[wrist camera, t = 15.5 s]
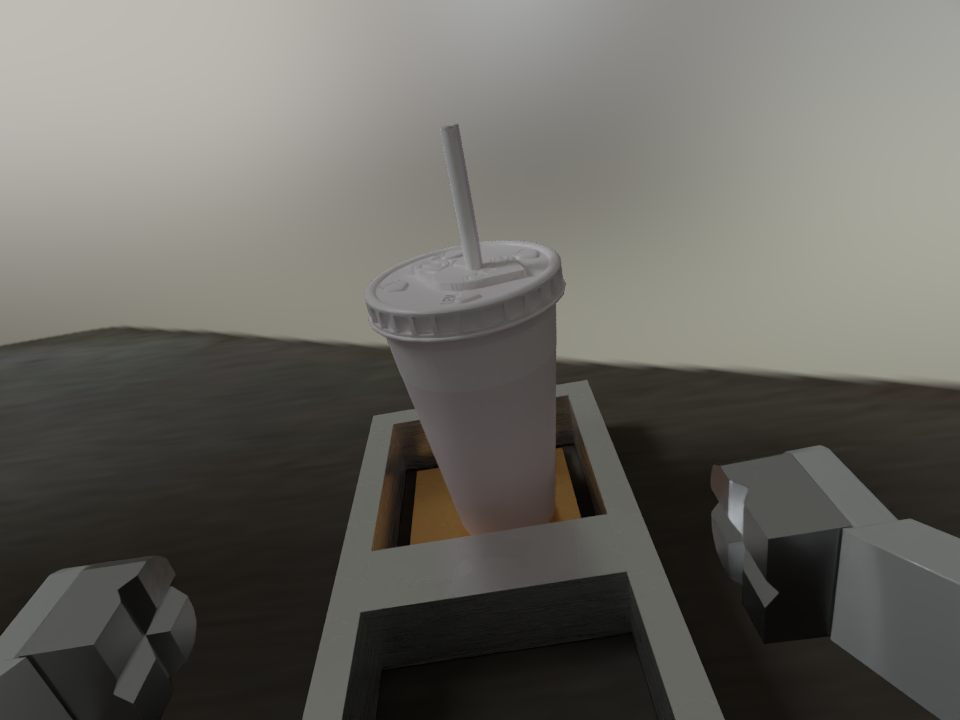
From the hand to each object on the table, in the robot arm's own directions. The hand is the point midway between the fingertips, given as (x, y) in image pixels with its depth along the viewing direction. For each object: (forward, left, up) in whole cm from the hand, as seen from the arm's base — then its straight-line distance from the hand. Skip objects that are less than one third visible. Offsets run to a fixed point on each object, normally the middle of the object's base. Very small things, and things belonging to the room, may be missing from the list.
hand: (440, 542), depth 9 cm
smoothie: (0, +12, -9) cm, 15 cm away
